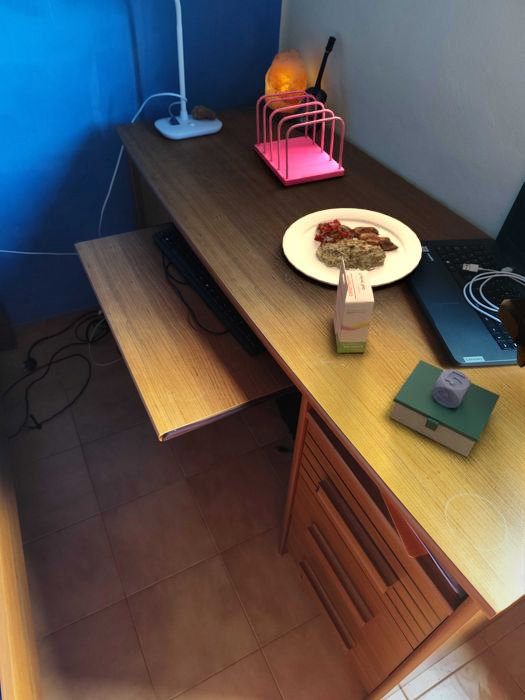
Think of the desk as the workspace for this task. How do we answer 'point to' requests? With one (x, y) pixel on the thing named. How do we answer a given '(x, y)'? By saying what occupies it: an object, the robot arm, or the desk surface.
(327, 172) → the file sorter
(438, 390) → the decorative dice
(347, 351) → the ink box
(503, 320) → the robot arm
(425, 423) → the box
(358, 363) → the desk surface
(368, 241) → the plated food
